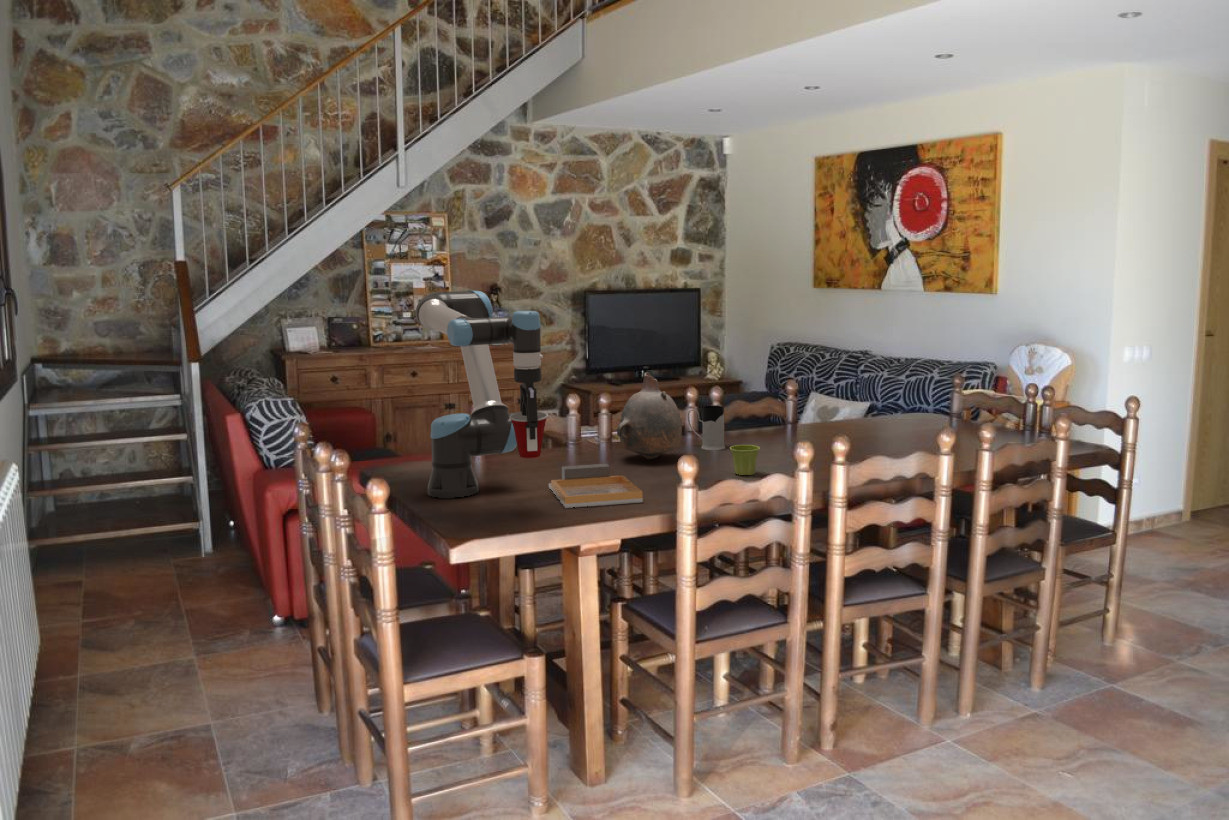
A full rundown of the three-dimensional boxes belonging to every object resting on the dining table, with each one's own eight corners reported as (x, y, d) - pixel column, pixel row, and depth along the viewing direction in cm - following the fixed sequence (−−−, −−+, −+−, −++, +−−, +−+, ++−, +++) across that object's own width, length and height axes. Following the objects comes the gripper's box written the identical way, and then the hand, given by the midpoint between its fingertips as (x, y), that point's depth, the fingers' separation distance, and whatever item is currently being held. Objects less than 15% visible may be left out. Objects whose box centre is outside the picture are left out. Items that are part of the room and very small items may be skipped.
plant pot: (758, 477, 316) (758, 450, 315) (728, 477, 318) (728, 450, 316) (760, 471, 325) (760, 445, 324) (731, 470, 327) (731, 444, 326)
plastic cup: (505, 459, 277) (504, 416, 276) (516, 451, 288) (515, 410, 286) (543, 460, 276) (542, 417, 274) (553, 452, 286) (552, 411, 284)
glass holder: (720, 450, 360) (720, 409, 358) (683, 448, 366) (683, 407, 364) (728, 446, 368) (728, 405, 366) (692, 444, 374) (691, 404, 372)
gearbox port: (565, 508, 282) (564, 486, 281) (548, 487, 308) (548, 467, 307) (642, 502, 287) (642, 481, 286) (619, 482, 313) (619, 462, 312)
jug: (663, 468, 331) (662, 378, 327) (606, 463, 342) (605, 375, 337) (694, 455, 352) (694, 370, 348) (640, 450, 363) (639, 367, 358)
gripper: (547, 371, 268) (549, 454, 272) (534, 362, 289) (536, 439, 293) (519, 372, 266) (521, 455, 270) (508, 363, 287) (510, 440, 291)
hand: (529, 447), depth 281 cm, fingers closed on plastic cup, 9 cm apart
